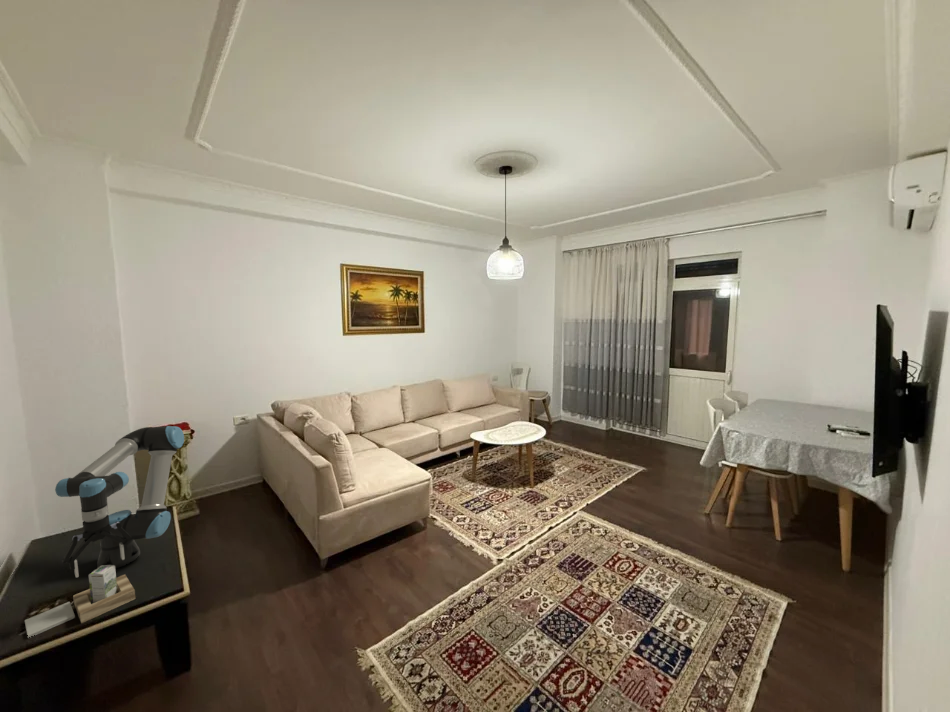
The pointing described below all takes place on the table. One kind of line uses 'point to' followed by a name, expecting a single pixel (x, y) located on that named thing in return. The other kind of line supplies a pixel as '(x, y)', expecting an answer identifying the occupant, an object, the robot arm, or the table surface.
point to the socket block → (103, 600)
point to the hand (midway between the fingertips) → (100, 566)
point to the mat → (49, 619)
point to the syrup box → (102, 583)
